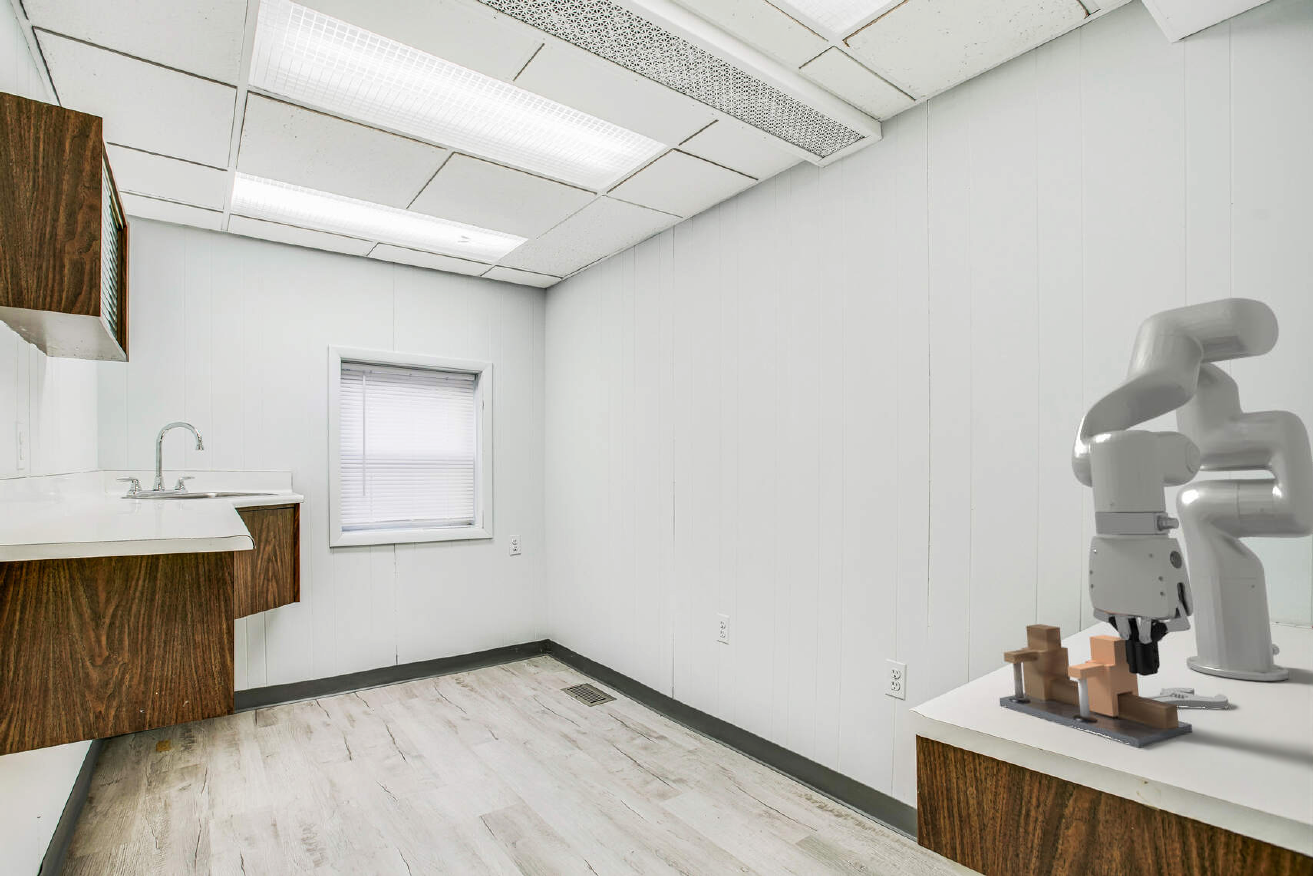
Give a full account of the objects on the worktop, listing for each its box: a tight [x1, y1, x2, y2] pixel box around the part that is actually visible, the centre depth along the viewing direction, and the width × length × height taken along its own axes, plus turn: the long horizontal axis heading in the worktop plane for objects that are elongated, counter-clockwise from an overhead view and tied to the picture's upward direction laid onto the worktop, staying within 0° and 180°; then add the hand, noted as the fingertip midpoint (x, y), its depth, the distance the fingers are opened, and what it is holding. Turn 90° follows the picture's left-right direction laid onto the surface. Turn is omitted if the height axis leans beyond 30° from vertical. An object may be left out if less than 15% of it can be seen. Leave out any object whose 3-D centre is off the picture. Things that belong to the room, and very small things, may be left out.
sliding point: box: [1068, 634, 1140, 717], centre depth 84 cm, size 10×3×9 cm, turn 115°
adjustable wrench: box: [1144, 687, 1229, 709], centre depth 90 cm, size 25×6×2 cm, turn 99°
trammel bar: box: [1003, 623, 1179, 730], centre depth 86 cm, size 10×18×10 cm, turn 25°
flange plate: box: [998, 692, 1193, 749], centre depth 86 cm, size 11×18×1 cm, turn 25°
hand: (1143, 672), depth 82 cm, fingers closed
